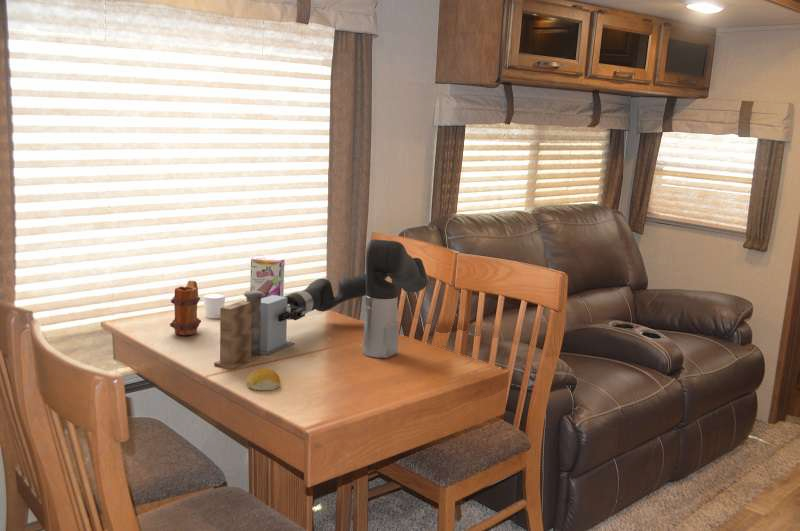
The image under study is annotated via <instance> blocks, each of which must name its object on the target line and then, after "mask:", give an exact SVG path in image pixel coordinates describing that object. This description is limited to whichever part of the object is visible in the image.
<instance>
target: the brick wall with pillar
mask: <svg viewBox="0 0 800 531" xmlns="http://www.w3.org/2000/svg"><path fill="white" fill-rule="evenodd" d="M243 297H245V298H246V299H245V300H240V301H237V302H234V303H231V304H228V305H224V307H221V308H220V318H219V320H220V322H219V328H220V329H219V332H220V333H219V334H220V336H219V337H220V338H219V339H220V340H219V345H220V346H219V360H217V361H215V362H214V363H213V365H215V366H214V367H218V366H220V367H219V368H223V367H224V368H223V369H228V368H229V369H228V370H232V369H233V370H235V369H237V368H239V366H240V367H242V366H244V365H246V364H248V363H251V362H252V361H255V360H257V359H258V358H257V357H259V356H261V354H260V329H261V297H263V292H261V291H250V290H246V291H244V293H243ZM250 361H251V362H250ZM243 364H244V365H243ZM241 365H242V366H241ZM236 367H237V368H236ZM234 368H235V369H234Z"/></svg>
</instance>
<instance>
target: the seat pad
mask: <svg viewBox="0 0 800 531" xmlns="http://www.w3.org/2000/svg"><path fill="white" fill-rule="evenodd" d="M294 344H295V342H293V341H288V340H286V344H283V345H281V346H279V347H277V348H275V349H272V350H270V351H268V352H266V351H261V350H260V355H262V356H270V355H272V354H275V353H277V352H279V351H282V350H283V349H286V348H287V347H290V346H293V345H294Z"/></svg>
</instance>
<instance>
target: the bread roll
mask: <svg viewBox="0 0 800 531" xmlns="http://www.w3.org/2000/svg"><path fill="white" fill-rule="evenodd" d="M281 383H282V382H281V378H280V375H279V374H278V373H277V372H276V371H274V369H273V370H272V369H268V368H260V369H257V370H254V371H253V372H251V373H250V374H249V376H247V379H246V385H247V386H248V388H249V389H250V388H251V389H250V390H252V389H254V390H253V391H256V390H271V391H275V390H277V389H278V388H279V387H280V386H281ZM276 388H277V389H276ZM274 389H275V390H274Z"/></svg>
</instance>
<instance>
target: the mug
mask: <svg viewBox="0 0 800 531" xmlns="http://www.w3.org/2000/svg"><path fill="white" fill-rule="evenodd" d="M186 284H187V285H186V286H178V287H175V288H174V296H173V297H172V299H171V300H170V303H172V304H173V305H174V319H173V320H172V322H170V324H169V327H171V328H172V329H174V333H175V334H176V335H178V336H192V335H195V334H196V333H197V330H198V328H199V326H200V324H201V323H202V320H201V319H199V317H198V312H197V311H198V303H199V301H200V300H201V297H199V288H198V283H197V281H196V280H188V281H187V283H186Z"/></svg>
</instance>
